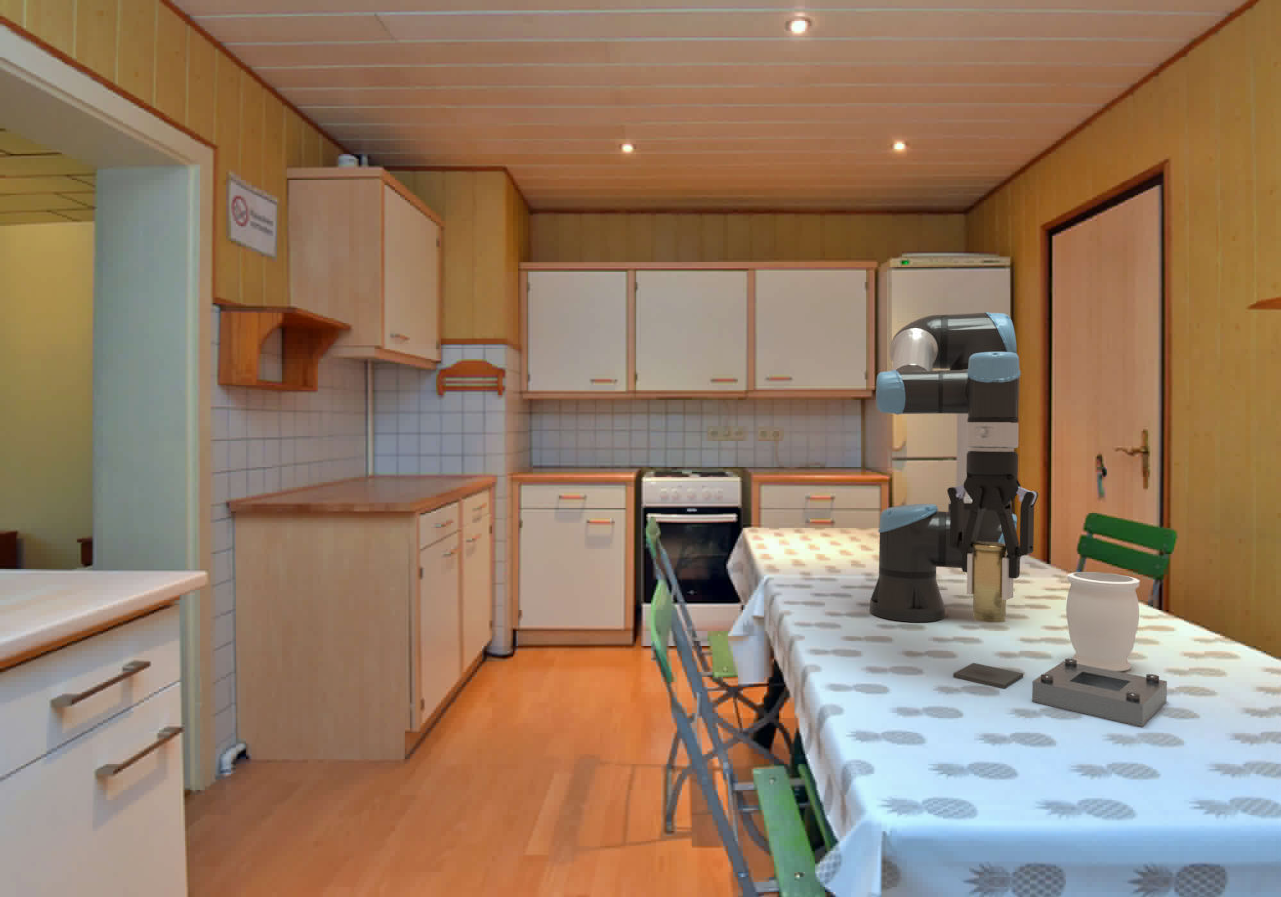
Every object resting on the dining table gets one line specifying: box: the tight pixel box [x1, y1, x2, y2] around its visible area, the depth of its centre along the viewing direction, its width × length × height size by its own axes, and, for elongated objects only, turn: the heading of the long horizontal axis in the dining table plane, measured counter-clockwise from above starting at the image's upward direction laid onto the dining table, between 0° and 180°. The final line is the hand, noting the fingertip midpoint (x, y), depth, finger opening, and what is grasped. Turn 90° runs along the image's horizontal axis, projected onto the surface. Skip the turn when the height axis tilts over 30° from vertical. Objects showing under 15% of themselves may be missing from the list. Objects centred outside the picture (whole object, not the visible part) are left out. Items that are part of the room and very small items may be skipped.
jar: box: [1065, 571, 1141, 672], centre depth 135 cm, size 11×10×15 cm
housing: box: [1031, 658, 1168, 728], centre depth 117 cm, size 14×14×4 cm
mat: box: [952, 662, 1024, 690], centre depth 129 cm, size 8×8×1 cm
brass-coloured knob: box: [972, 542, 1007, 624], centre depth 128 cm, size 5×5×12 cm
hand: (989, 595), depth 128 cm, fingers closed on brass-coloured knob, 5 cm apart
